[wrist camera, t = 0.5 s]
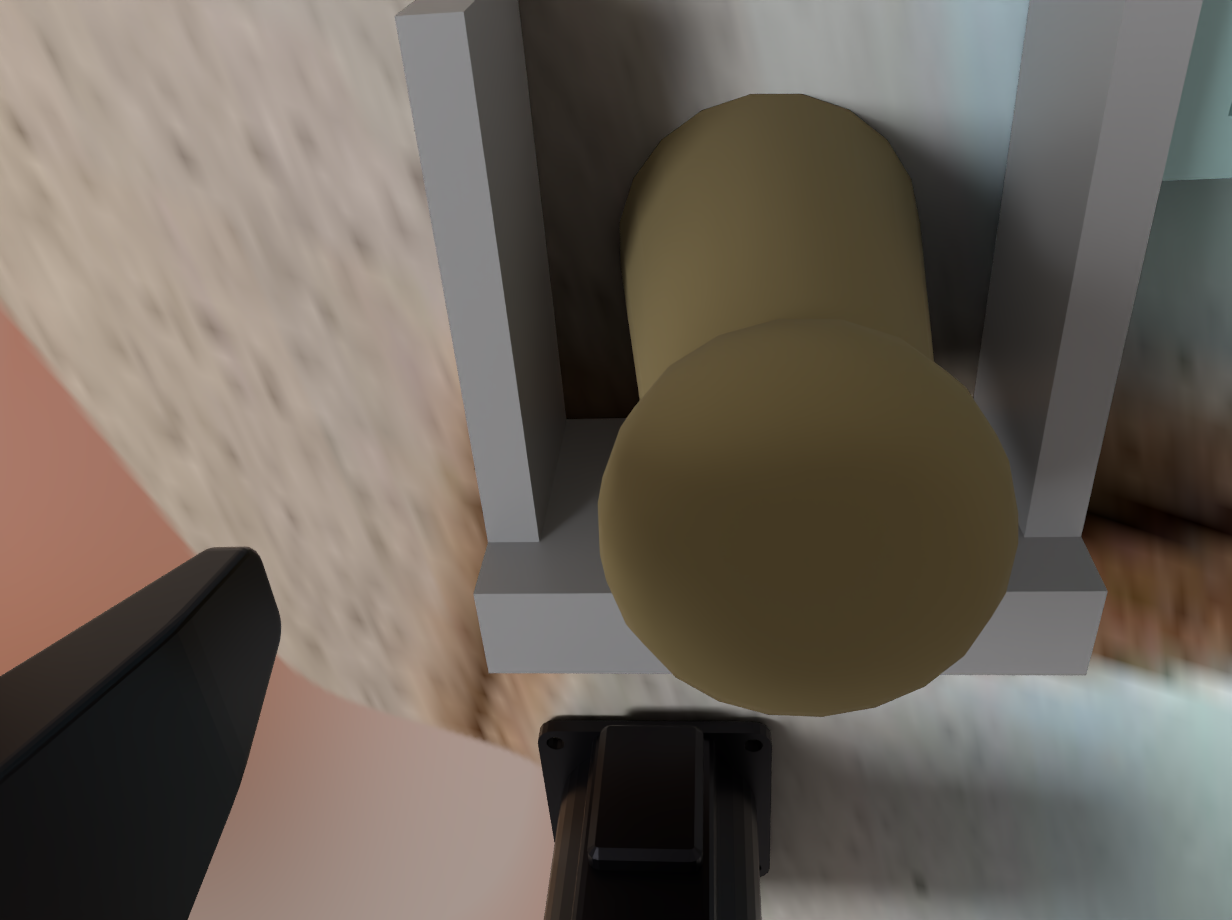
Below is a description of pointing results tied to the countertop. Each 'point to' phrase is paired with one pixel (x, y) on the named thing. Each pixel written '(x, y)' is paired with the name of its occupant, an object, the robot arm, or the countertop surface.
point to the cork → (795, 423)
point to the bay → (1009, 356)
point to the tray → (1205, 102)
